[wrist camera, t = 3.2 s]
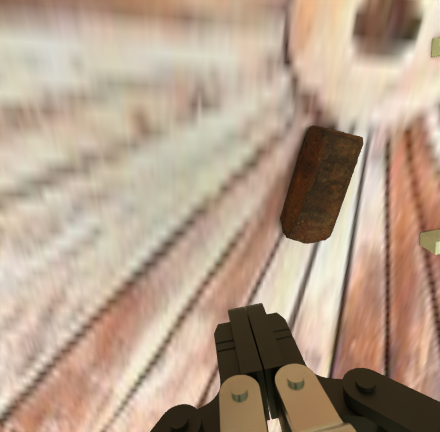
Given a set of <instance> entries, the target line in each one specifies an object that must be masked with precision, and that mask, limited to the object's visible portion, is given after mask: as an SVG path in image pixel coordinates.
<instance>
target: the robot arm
mask: <svg viewBox="0 0 440 432" xmlns="http://www.w3.org/2000/svg"><path fill="white" fill-rule="evenodd" d="M245 309H246V311H245ZM228 314H229V320H230V322H228V323H223V324H218V325H217V328H216V330H215V333H214V337H215V344H216V351H217V359H218V367H219V374H220V383H221V385H220V390H219V392H218V394H217V395H216V397H215V398H214V399H213V400H212V401H211V402H210V403H208V404H206V405H205V406H203V407H201V408H199V409H196V408H195V407H193V406H191V405H187V404H182V405H177V406H174V407H172V408H171V409H169V410H168V411H167V412H165V414H164V415H163V416H162V417H161V418H160V420H159V421H158V422H157V424H156V425H155V426H154V427H153V429H152V430H151V431H150V432H268V425H267V420H270V416H269V411H270V414H271V418H272V419H276V418H279V422H280V425H281V429H282V432H440V402H439V401H437V400H434V399H432V398H430V397H428V396H426V395H424V394H422V393H420V392H418V391H415V390H413V389H411V388H409V387H407V386H405V385H403V384H401V383H399V382H396V381H394V380H392V379H390V378H388V377H386V376H384V375H382V374H380V373H377V372H375V371H373V370H370V369H366V368H355V369H352V370H350V371H348V372H347V373H346V374H345V375H344V377H343V379H331V378H325V377H321V376H318V375H316V374H315V373H314V372H313V371H312V370H311V369H309V368H308V367H307V366H306V364H305V362H304V360H303V358H302V355H301V353H300V351H299V349H298V347H297V345H296V342H295V340H294V338H293V336H292V334H291V331H290V330H289V327H288V325H287V323H286V320H285V319H284V318H283V317H282V316H280V315H279V314H278V313H272V314H267V315H266V312H265V309H264V307H263V304H262V303H259V304H254V305H249V306H245V308H244V307H240V308H235V309H230V310H228ZM268 407H269V409H268Z"/></svg>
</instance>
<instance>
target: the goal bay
mask: <svg viewBox="0 0 440 432" xmlns="http://www.w3.org/2000/svg"><path fill="white" fill-rule="evenodd" d="M435 56H440V38H435V39H433V40H432V56H431V57H435ZM420 245H421V246H422V247H424V248H425V249H427V250H429V251H430V252H432V253H433V254H435V255H436V254H440V229H437V230H432V231H427V232H422V233H420Z"/></svg>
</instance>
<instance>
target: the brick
mask: <svg viewBox="0 0 440 432" xmlns="http://www.w3.org/2000/svg"><path fill="white" fill-rule="evenodd" d="M362 146H363V138H362V137H360V136H355V135H351V134H348V133H344V132H340V131H336V130H332V129H327V128H323V127H318V126H312V127H311V128H310V130H309V131H308V132H307V135H306V138H305V141H304V144H303V149H302V151H301V153H300V156H299V158H298V160H297V164H296V167H295V171H294V174H293V177H292V181H291V184H290V187H289V191H288V195H287V198H286V201H285V204H284V208H283V211H282V215H281V218H280V219H281V223H282V230H283V233H284V234H285V235H286V237H287V238H290V239H292V240H296V241H300V242H302V243H307V244H308V243H314V242H319V241H321V240H326V239H327V238H329V237H330V236H331V233H332V231H333V229H334V226H335V223H336V220H337V218H338V215H339V212H340V209H341V206H342V203H343V200H344V197H345V194H346V192H347V189H348V186H349V183H350V181H351V177H352V174H353V172H354V168H355V166H356V164H357V161H358V157H359V154H360V152H361V149H362Z"/></svg>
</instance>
